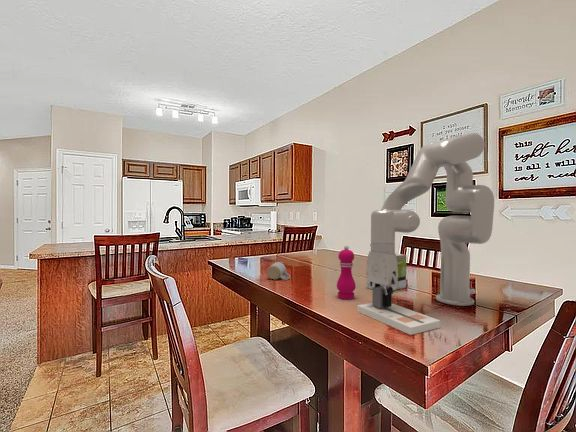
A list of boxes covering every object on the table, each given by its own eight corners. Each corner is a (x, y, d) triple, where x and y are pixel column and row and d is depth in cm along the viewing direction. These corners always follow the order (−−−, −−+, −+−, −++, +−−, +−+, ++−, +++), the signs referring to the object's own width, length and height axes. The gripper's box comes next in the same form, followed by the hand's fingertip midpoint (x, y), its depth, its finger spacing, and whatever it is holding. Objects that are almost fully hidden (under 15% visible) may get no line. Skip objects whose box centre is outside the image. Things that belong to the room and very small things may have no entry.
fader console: (384, 306, 109) (384, 300, 109) (440, 327, 90) (440, 320, 90) (357, 311, 104) (357, 305, 104) (410, 335, 84) (410, 327, 84)
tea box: (386, 293, 127) (387, 256, 126) (366, 288, 134) (366, 254, 134) (406, 287, 136) (407, 253, 136) (386, 283, 144) (386, 251, 144)
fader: (383, 303, 105) (384, 285, 104) (391, 306, 101) (391, 287, 101) (372, 305, 102) (372, 287, 102) (380, 308, 99) (380, 289, 99)
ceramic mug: (265, 279, 150) (266, 263, 149) (271, 276, 158) (271, 261, 157) (287, 281, 147) (287, 265, 146) (291, 278, 155) (292, 262, 154)
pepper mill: (355, 300, 116) (356, 246, 116) (336, 299, 117) (336, 246, 117) (355, 295, 123) (355, 244, 123) (336, 294, 124) (337, 244, 124)
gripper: (356, 246, 107) (356, 299, 107) (393, 252, 92) (392, 313, 93) (373, 245, 111) (373, 296, 111) (411, 250, 96) (410, 310, 96)
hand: (382, 303), depth 102 cm, fingers closed on fader, 3 cm apart
